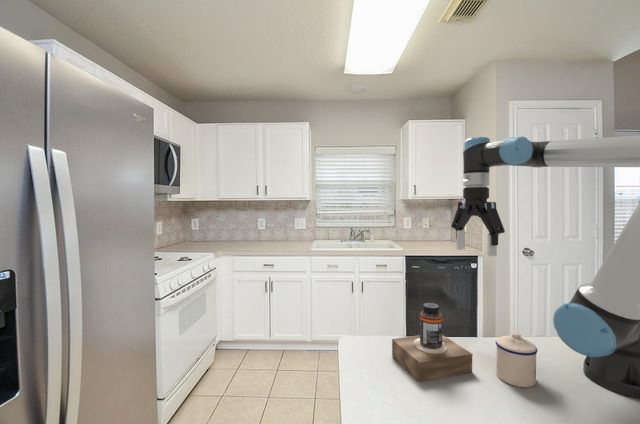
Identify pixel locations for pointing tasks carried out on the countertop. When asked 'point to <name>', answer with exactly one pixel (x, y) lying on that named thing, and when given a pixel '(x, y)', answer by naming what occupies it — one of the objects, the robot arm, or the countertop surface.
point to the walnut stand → (431, 358)
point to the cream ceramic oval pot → (516, 360)
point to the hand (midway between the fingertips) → (475, 252)
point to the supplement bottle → (431, 326)
